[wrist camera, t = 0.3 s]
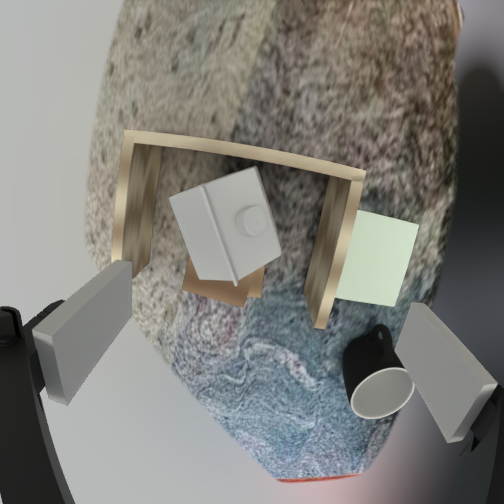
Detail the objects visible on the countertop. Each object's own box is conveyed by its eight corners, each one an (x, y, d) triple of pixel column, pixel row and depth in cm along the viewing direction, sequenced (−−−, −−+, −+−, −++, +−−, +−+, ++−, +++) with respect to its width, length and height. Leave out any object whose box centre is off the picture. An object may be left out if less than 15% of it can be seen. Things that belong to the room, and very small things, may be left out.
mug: (384, 373, 46) (405, 414, 37) (331, 377, 47) (344, 422, 37) (399, 307, 43) (429, 343, 33) (342, 309, 43) (361, 349, 33)
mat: (336, 204, 39) (337, 205, 39) (417, 224, 40) (419, 225, 39) (314, 292, 43) (315, 294, 42) (392, 304, 43) (394, 306, 42)
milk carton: (220, 236, 41) (189, 299, 22) (201, 183, 39) (151, 204, 21) (274, 219, 40) (286, 271, 22) (256, 164, 38) (253, 168, 20)
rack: (156, 135, 37) (124, 129, 28) (340, 167, 38) (366, 170, 28) (140, 260, 42) (110, 289, 32) (311, 292, 43) (325, 329, 33)
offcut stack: (196, 232, 41) (183, 248, 33) (268, 245, 41) (269, 264, 34) (191, 272, 42) (177, 296, 35) (259, 285, 42) (259, 311, 35)
